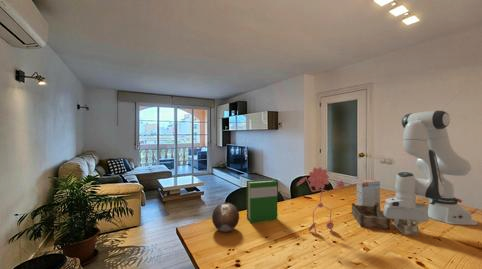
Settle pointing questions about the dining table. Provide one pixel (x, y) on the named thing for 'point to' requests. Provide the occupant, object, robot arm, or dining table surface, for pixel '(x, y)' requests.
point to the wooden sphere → (225, 217)
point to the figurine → (319, 180)
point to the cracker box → (368, 193)
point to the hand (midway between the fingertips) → (405, 227)
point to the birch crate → (407, 227)
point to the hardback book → (261, 200)
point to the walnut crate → (370, 217)
